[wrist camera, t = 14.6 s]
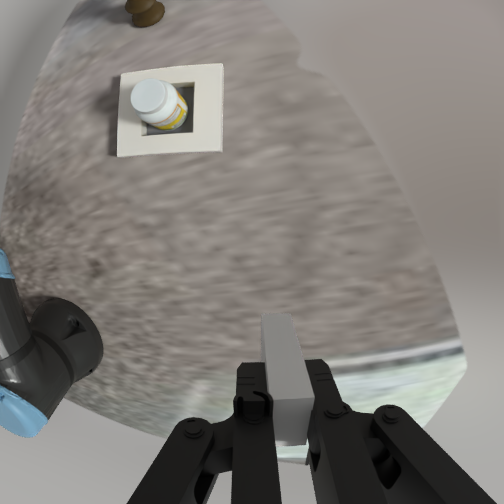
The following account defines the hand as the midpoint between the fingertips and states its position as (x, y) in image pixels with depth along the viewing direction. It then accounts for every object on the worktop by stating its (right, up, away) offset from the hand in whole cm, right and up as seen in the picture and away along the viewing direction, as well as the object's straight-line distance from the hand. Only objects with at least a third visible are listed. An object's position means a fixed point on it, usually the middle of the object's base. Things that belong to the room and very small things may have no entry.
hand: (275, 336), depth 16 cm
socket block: (-12, +23, +21) cm, 34 cm away
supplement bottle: (-12, +23, +21) cm, 34 cm away
